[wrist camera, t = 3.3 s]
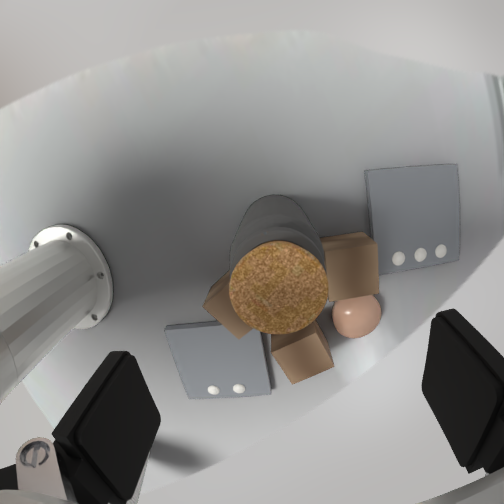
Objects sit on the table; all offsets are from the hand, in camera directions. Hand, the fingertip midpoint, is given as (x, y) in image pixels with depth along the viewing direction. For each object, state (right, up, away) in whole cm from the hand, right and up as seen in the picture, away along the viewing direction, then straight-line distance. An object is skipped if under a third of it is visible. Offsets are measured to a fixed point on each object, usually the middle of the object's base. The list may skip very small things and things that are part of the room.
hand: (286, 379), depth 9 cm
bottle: (+1, +6, +20) cm, 21 cm away
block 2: (+4, -5, +23) cm, 24 cm away
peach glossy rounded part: (+10, -2, +22) cm, 24 cm away
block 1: (-2, 0, +22) cm, 22 cm away
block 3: (+8, +3, +21) cm, 22 cm away
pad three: (+15, +7, +19) cm, 25 cm away
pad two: (-4, -8, +25) cm, 26 cm away
